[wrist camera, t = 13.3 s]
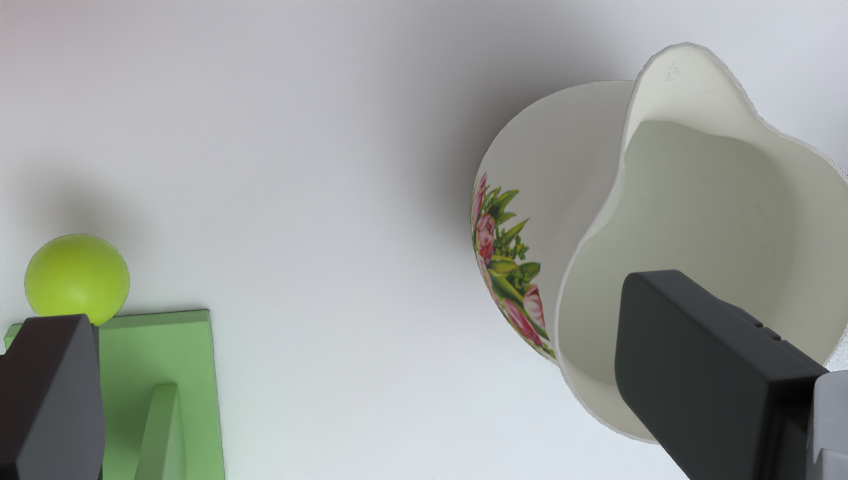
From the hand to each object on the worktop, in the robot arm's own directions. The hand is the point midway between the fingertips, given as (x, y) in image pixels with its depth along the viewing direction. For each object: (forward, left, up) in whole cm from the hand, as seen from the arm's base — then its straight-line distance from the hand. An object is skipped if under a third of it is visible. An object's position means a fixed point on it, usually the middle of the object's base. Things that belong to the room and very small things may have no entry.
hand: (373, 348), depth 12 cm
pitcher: (+5, +12, -22) cm, 26 cm away
